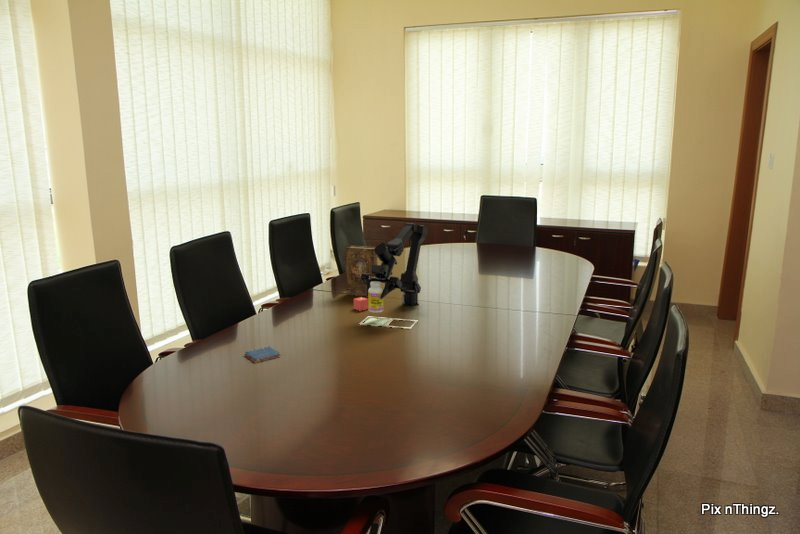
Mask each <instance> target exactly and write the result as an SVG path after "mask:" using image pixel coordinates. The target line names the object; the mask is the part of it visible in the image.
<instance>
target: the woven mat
mask: <svg viewBox="0 0 800 534" xmlns="http://www.w3.org/2000/svg"><path fill="white" fill-rule="evenodd" d="M244 356H245V357H246V358H248V359H250V361H252V362H253V363H255V364H257V363H260V362H265V361H269V360H273V359H277V358H280V357H281V354H280V352H278V350H276V349H274V348H273V347H271V346H267V347H266V346H265V347H262V348H257V349H252V350H249V351H245V352H244Z"/></svg>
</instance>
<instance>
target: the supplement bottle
mask: <svg viewBox="0 0 800 534" xmlns="http://www.w3.org/2000/svg"><path fill="white" fill-rule="evenodd" d="M370 285H371V288H369V290H368V297H367V299H368V308H369V309H368V312H370V313H374V314H376V313H382V312H384V310H385V306H384V303H385V302H384V300H385V299H384V298H385V297H384V298H382V299H381V294H382V292H383V289H384V287H382V283H381V282H378V281H374V282H371V283H370Z"/></svg>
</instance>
